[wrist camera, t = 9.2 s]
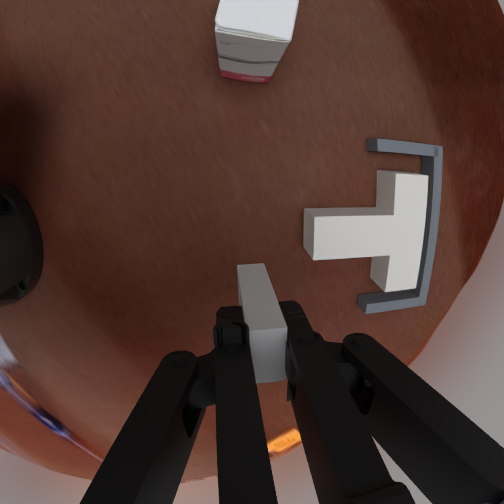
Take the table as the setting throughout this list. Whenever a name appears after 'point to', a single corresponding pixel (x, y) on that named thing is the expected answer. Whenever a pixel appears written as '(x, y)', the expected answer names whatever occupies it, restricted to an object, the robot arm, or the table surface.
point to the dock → (433, 169)
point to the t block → (376, 230)
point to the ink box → (253, 37)
